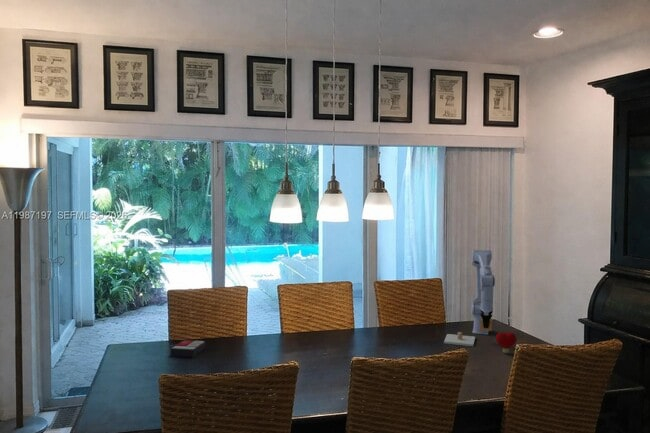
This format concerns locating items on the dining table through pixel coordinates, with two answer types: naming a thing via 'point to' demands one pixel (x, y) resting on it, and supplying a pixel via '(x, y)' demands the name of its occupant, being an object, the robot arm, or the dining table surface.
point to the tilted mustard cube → (488, 327)
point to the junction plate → (459, 339)
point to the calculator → (187, 348)
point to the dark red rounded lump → (506, 340)
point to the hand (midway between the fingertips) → (486, 326)
